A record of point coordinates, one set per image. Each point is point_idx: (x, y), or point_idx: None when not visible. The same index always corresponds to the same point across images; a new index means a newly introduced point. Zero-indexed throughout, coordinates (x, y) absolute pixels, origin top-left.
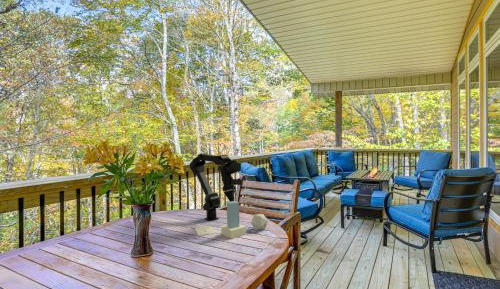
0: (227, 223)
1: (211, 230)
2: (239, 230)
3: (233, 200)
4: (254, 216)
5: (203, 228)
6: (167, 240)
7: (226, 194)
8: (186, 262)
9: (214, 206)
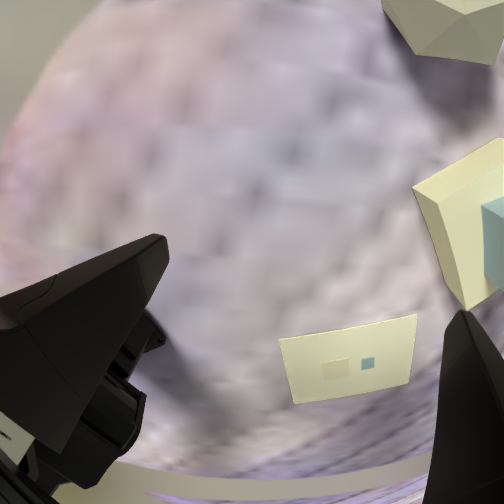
0: (497, 281)
1: (369, 337)
2: None
3: (140, 270)
4: (479, 25)
5: (315, 373)
6: (399, 445)
7: None
8: None
9: (108, 379)
